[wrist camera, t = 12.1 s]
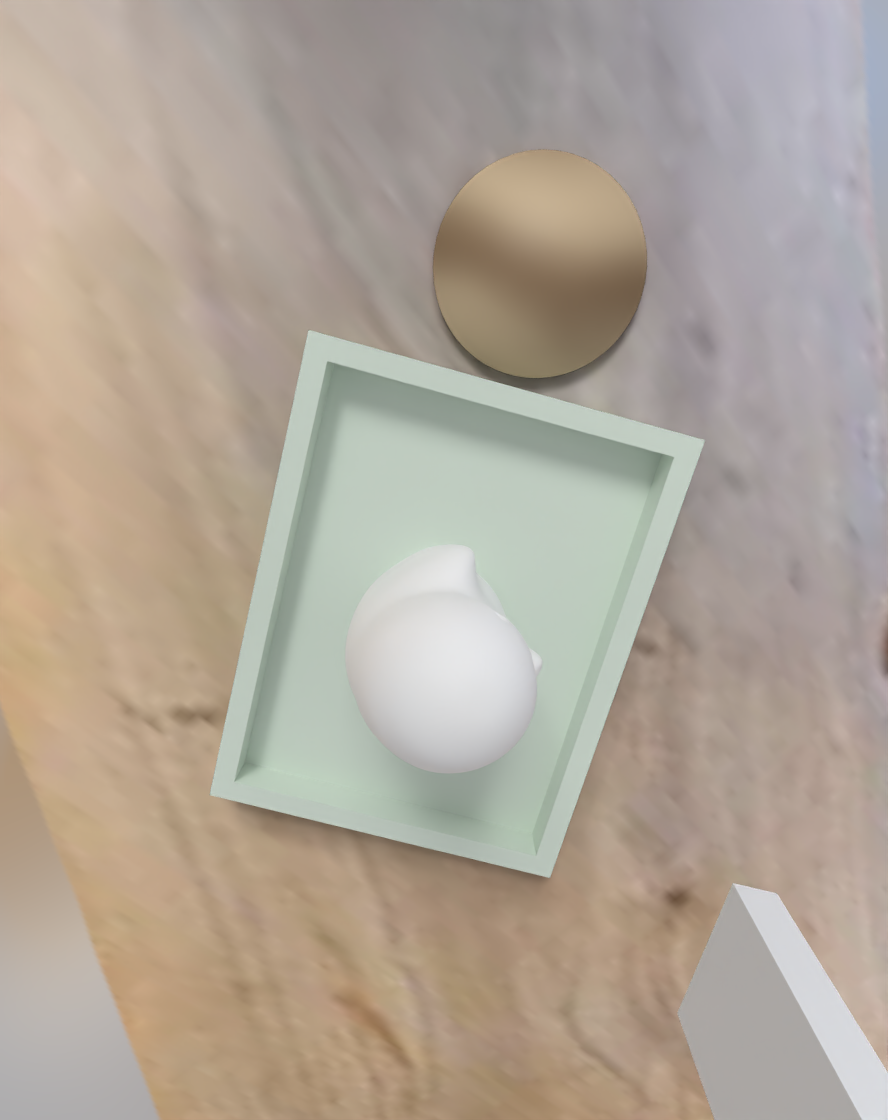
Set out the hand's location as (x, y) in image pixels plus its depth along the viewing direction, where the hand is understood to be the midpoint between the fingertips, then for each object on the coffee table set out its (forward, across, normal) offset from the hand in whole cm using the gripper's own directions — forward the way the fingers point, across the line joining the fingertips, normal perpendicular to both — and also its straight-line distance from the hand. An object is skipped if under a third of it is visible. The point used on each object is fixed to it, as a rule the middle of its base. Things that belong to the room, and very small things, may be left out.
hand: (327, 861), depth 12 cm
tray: (+23, +2, -3) cm, 23 cm away
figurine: (+22, +2, -3) cm, 22 cm away
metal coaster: (+23, +2, +13) cm, 26 cm away
